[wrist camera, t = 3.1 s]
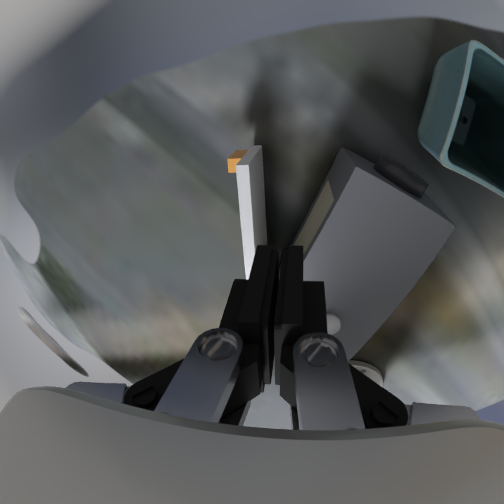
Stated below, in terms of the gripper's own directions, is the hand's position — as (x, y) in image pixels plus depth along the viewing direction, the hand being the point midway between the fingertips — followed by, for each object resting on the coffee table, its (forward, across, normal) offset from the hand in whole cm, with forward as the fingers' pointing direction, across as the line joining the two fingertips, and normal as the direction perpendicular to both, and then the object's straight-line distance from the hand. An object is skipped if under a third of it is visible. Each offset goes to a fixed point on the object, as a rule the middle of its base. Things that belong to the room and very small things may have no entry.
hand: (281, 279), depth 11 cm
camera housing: (+16, -5, +7) cm, 18 cm away
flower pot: (+16, -14, -6) cm, 23 cm away
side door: (+16, +3, +5) cm, 17 cm away
